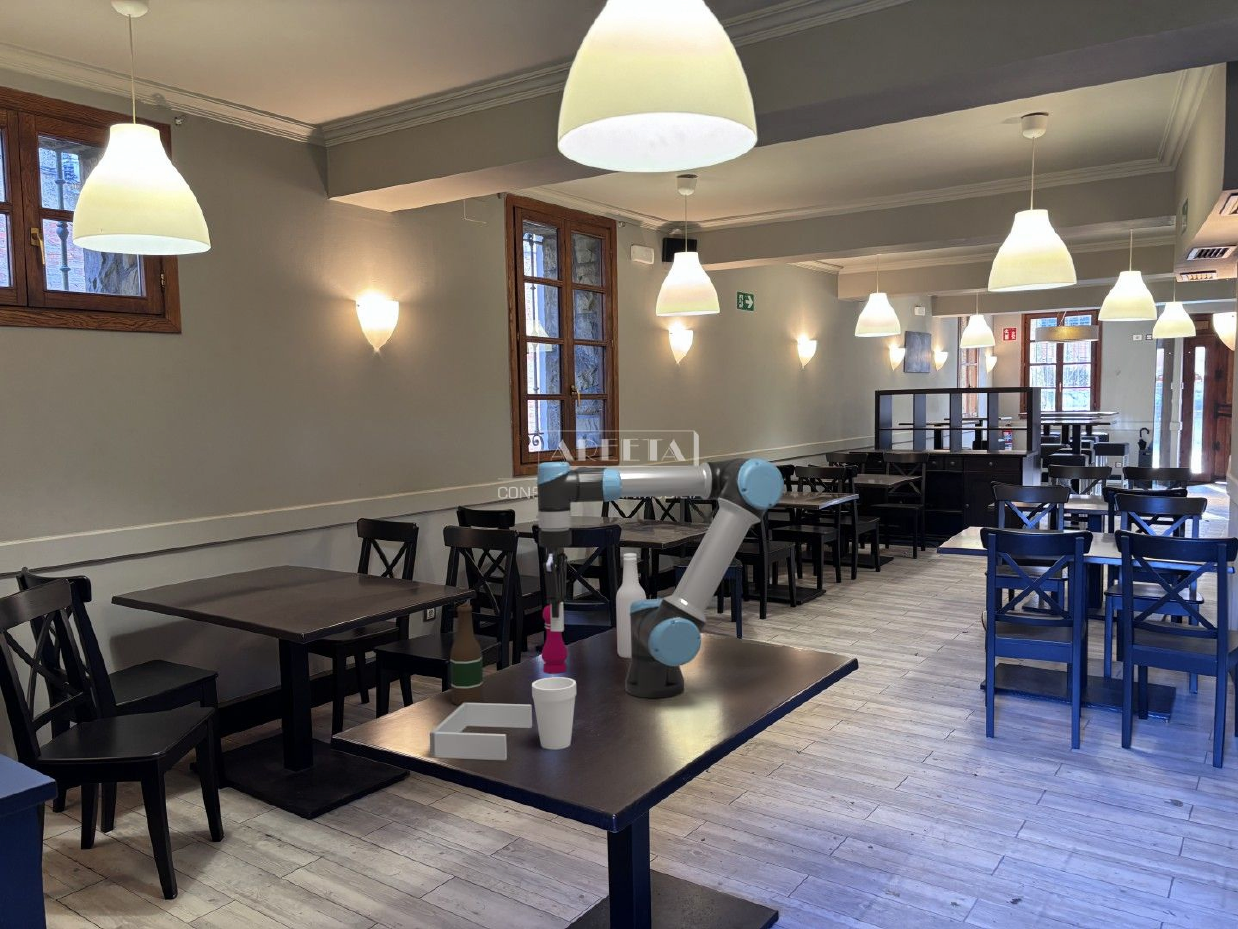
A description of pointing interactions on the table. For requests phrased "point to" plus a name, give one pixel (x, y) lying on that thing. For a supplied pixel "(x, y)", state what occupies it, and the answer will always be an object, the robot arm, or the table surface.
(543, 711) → the foam cup
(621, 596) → the alcohol
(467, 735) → the box
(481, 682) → the beer bottle
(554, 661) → the pepper mill
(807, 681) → the table surface
